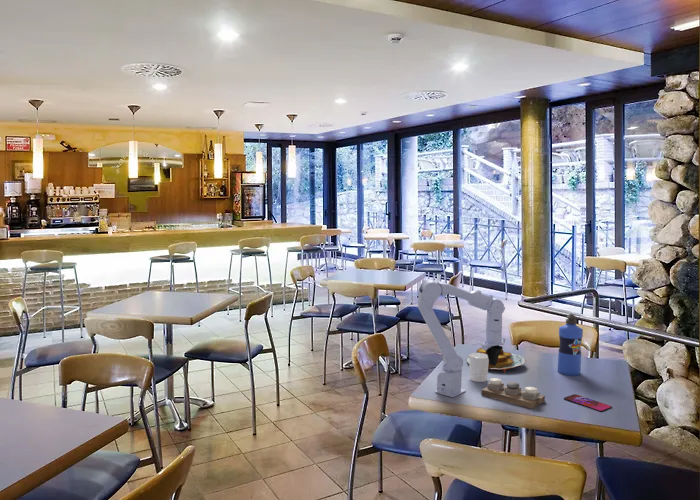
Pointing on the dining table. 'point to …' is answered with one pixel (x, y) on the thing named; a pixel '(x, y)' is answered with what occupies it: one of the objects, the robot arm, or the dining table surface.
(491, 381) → the left knob
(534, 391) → the right knob
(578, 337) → the water bottle
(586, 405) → the smartphone
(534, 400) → the knob mount
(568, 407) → the dining table surface
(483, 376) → the white cup
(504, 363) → the food on plate
